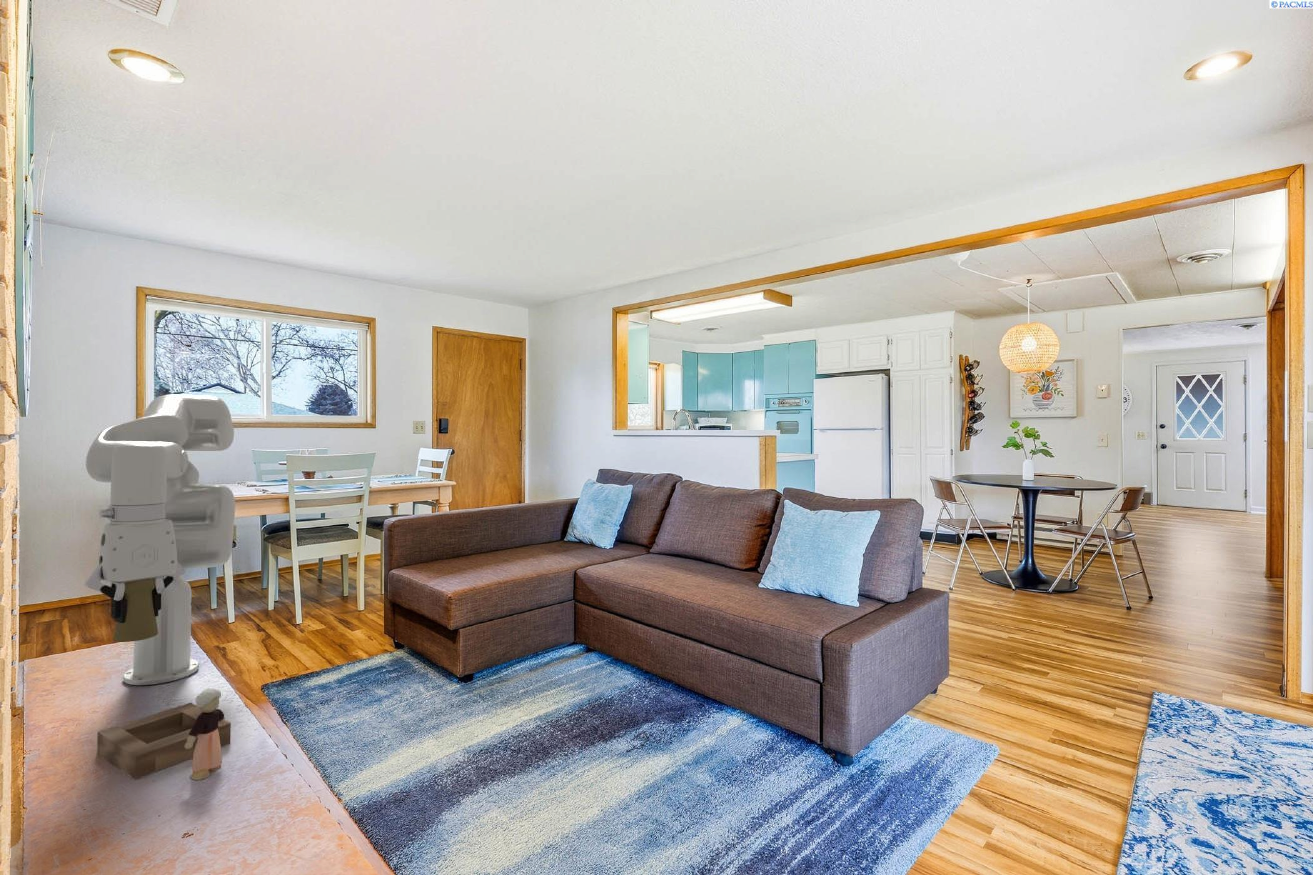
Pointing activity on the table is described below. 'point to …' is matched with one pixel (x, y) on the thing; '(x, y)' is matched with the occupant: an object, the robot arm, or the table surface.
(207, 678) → the table surface
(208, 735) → the grandmother figurine
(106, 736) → the socket block
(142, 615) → the cork
